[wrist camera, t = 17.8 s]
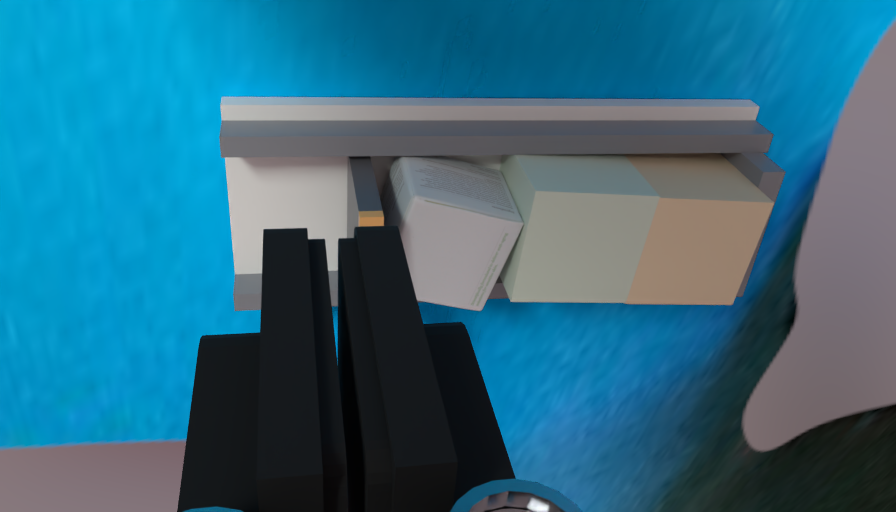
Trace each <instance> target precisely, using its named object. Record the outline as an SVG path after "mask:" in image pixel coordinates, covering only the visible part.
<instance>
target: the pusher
mask: <svg viewBox="0 0 896 512" xmlns="http://www.w3.org/2000/svg"><path fill="white" fill-rule="evenodd" d="M360 226H384V214H383V210H382V206H381V201H380V197H379V192H378V188H377V184H376V179H375V175H374V171H373V166H372V162H371V157H370V156H348V173H347V238H354V228H355V227H360Z"/></svg>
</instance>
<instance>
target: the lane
mask: <svg viewBox="0 0 896 512" xmlns="http://www.w3.org/2000/svg"><path fill="white" fill-rule="evenodd" d="M758 110H759V106H758V105H756V104H755V103H754V102H752V101H751V100H724V99H544V98H365V97H222V99H221V116H222V123H221V130H220V136H219V137H220V149H221V158H223V157H225V163H226V174H227V186H228V198H229V209H230V221H231V233H232V244H233V256H234V268H235V282H234V294H233V295H234V306H235V311H242V310H261V292H262V257H263V230H264V229H285V228H307V231H308V239H325V244H326V254H327V264H328V274H329V284H330V295H331V305H332V306H338V239H339V238H347V173H348V156H370V157H371V162H372V166H373V171H374V175H375V179H376V184H377V188H378V192H379V197H381V195H382V192H383V189H384V186H385V184H386V181H387V178H388V175H389V173H390V170H391V167H392V165H393V162H394V159H395V157H396V156H441V155H442V156H445V157H449V158H453V159H456V160H460V161H464V162H467V163H471V164H475V165H479V166H483V167H486V168H490V169H494V170H498V171H499V169H500V164H501V159H502V155H550V154H658V153H720V154H721V155H722V156H723V157H725V158H726V159H727V160H728V161H729V162H730V163H731V164H732V165H733V166H734V167H735V168H737V169H738V170H739V171H740V172H741V173H742V174H743V175H744V176H745V177H746V178H748V179H749V180H750V181H751V182H752V183H753V184H754V185H755V186H756V187H757V188H759V189H760V190H761V191H762V192H763V193H764V194H765V195H766V196H767V197H768V198H770V199H771V200H772V201H773V202H774V204H775V201H776V198H777V195H778V192H779V189H780V187H781V184H782V181H783V178H784V175H785V171H784V170H783V169H781V168H780V167H779V166H778V165H777V164H775V163H774V162H773V161H772V160H771V159H769V158H768V157H767V156H766V155H765V154H763V153H767V152H768V150H769V147H770V144H771V141H772V138H773V134H772V133H771V132H770V131H768V130H767V129H766V128H765V127H763V126H762V125H761V124H759V123H758V122H757V121H756V117H757V114H758ZM773 207H774V205H773ZM773 207H772V210H773ZM772 210H771V212H772ZM771 212H770V215H771ZM770 215H769V217H768V220H767V222H766V224H765V227H764V229H763V232H762V234H761V237H760V239H759V241H758V244H757V246H756V249H755V251H754V254H753V256H752V258H751V261H750V263H749V266H748V268H747V271H746V273H745V275H744V278H743V280H742V283H741V285H740V288H739V290H738V292H737V295H736V297H742V296H743V293H744V290H745V287H746V285H747V282H748V279H749V276H750V273H751V270H752V267H753V264H754V262H755V259H756V256H757V253H758V250H759V247H760V244H761V241H762V238H763V236H764V233H765V230H766V227H767V224H768V221H769V218H770ZM500 298H509V297H508V294H507V292H506V290H505V287H504V285H503V283H502V280H501V278H500V275H499V277H498V279H497V281H496V283H495V285H494V287H493V289H492V291H491V293H490V295H489V297H488V299H500ZM417 302H424V301H418V300H417Z"/></svg>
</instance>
